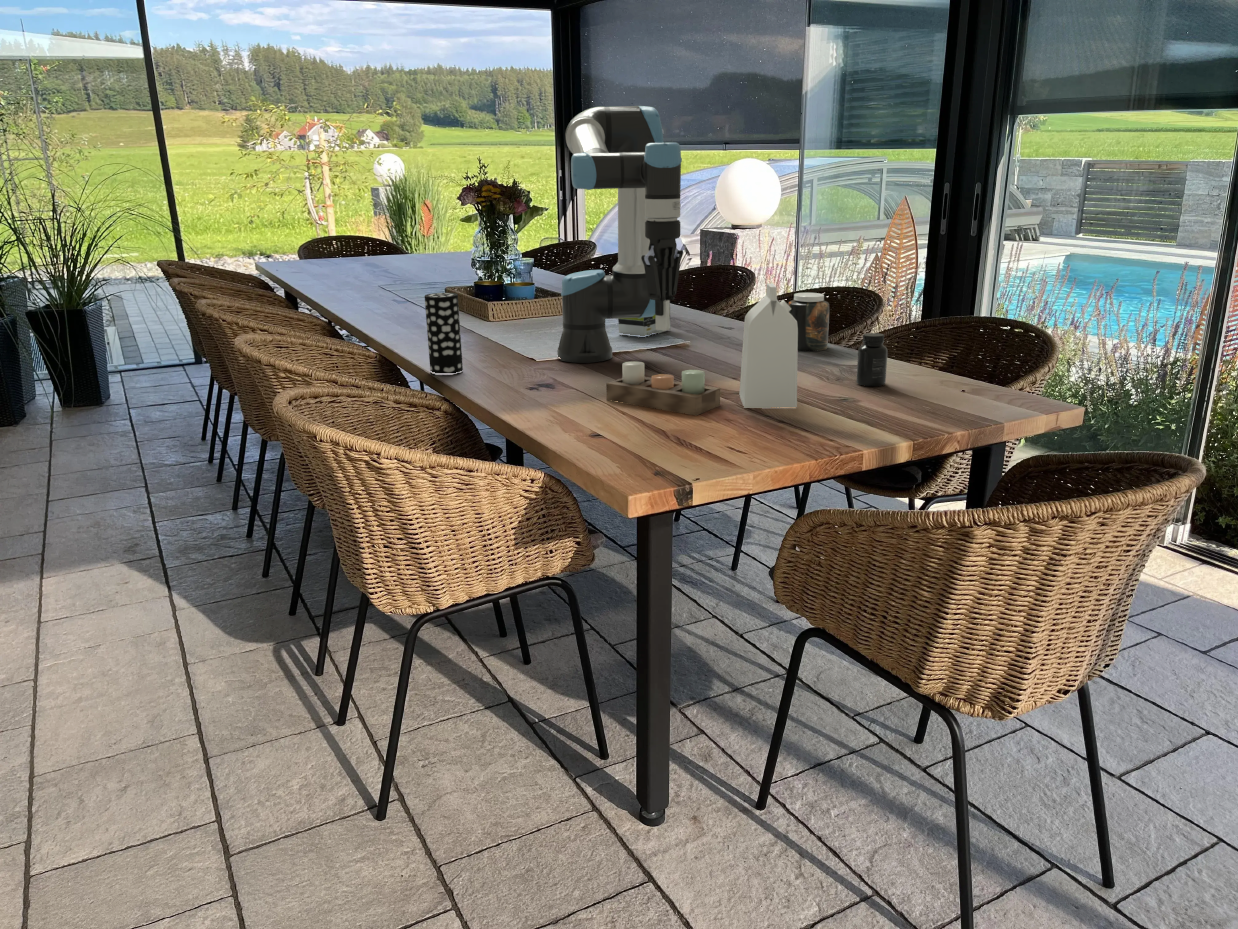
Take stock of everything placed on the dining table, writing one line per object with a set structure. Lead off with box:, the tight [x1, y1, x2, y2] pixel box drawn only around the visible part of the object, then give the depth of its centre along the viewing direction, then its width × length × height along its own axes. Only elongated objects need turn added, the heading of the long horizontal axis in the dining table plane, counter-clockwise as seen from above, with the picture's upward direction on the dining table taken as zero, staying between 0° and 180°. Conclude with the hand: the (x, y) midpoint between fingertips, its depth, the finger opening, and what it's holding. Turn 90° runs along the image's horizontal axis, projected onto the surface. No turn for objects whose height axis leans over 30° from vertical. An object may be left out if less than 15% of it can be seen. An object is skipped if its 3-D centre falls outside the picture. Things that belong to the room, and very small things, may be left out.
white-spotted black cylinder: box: [423, 292, 464, 373], centre depth 242 cm, size 8×8×20 cm
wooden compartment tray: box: [605, 376, 721, 416], centre depth 212 cm, size 24×10×4 cm, turn 54°
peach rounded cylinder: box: [651, 373, 675, 390], centre depth 211 cm, size 5×5×5 cm
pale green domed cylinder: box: [681, 369, 706, 395], centre depth 206 cm, size 5×5×5 cm
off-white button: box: [621, 361, 645, 385], centre depth 215 cm, size 5×5×5 cm
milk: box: [738, 282, 799, 409], centre depth 208 cm, size 12×12×26 cm
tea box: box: [617, 315, 669, 336], centre depth 291 cm, size 15×10×15 cm, turn 144°
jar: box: [787, 292, 830, 352], centre depth 267 cm, size 12×12×15 cm
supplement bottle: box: [856, 332, 888, 387], centre depth 225 cm, size 7×7×12 cm
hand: (662, 329), depth 208 cm, fingers closed
